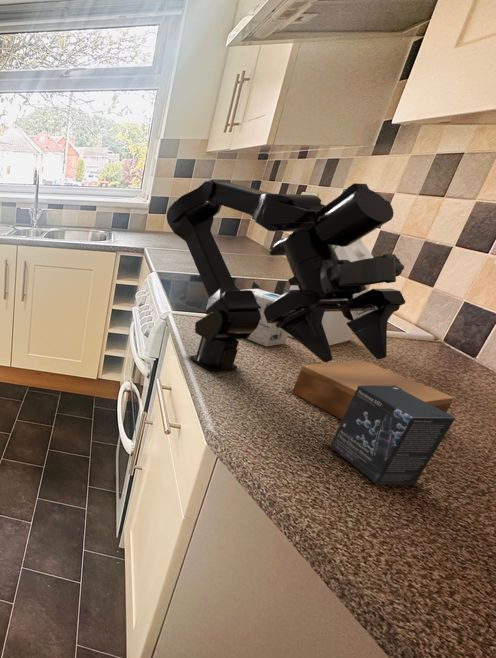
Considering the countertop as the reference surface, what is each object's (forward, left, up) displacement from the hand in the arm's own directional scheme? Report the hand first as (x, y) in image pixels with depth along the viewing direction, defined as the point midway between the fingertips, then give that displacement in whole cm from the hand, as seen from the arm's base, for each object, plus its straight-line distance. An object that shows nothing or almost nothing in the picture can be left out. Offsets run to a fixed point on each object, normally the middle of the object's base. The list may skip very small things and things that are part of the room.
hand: (355, 359), depth 59 cm
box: (+7, -1, -13) cm, 15 cm away
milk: (-35, +39, -13) cm, 54 cm away
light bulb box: (-36, +23, -13) cm, 45 cm away
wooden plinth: (-5, +14, -13) cm, 20 cm away
